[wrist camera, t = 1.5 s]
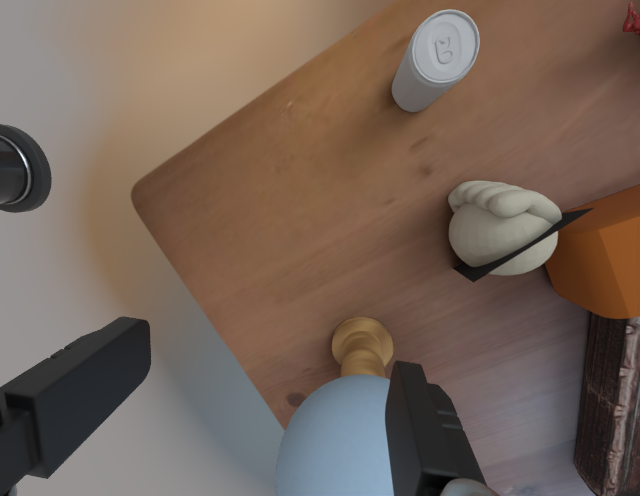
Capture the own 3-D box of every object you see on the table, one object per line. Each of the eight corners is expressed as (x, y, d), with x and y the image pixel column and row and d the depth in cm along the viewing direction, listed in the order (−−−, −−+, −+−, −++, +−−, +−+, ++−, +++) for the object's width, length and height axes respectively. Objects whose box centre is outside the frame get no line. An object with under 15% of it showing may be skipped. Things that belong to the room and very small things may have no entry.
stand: (320, 347, 42) (308, 412, 31) (355, 305, 40) (355, 358, 29) (367, 379, 43) (372, 454, 32) (404, 339, 40) (423, 404, 29)
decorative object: (415, 218, 38) (488, 167, 36) (467, 287, 37) (546, 238, 35) (417, 209, 26) (529, 129, 24) (495, 311, 25) (622, 238, 22)
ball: (269, 411, 32) (207, 587, 19) (348, 314, 28) (341, 449, 15) (377, 482, 33) (392, 700, 20) (468, 397, 29) (565, 596, 16)
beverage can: (432, 56, 32) (475, -5, 20) (441, 104, 33) (487, 71, 22) (386, 72, 33) (402, 22, 21) (396, 119, 34) (417, 94, 22)
